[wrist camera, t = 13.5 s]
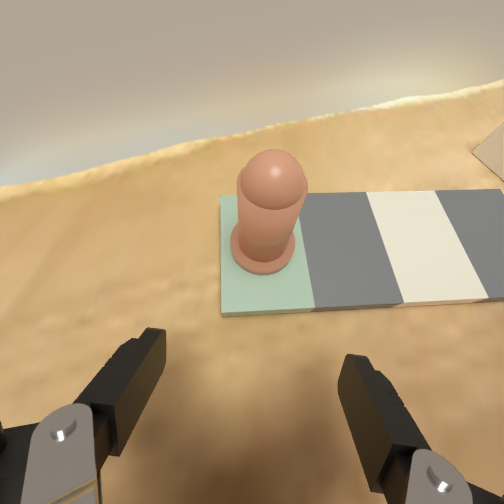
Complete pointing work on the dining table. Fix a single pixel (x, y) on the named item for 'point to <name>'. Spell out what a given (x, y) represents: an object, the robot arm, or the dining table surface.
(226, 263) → the board
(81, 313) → the dining table surface
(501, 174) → the die
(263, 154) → the pawn
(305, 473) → the dining table surface
